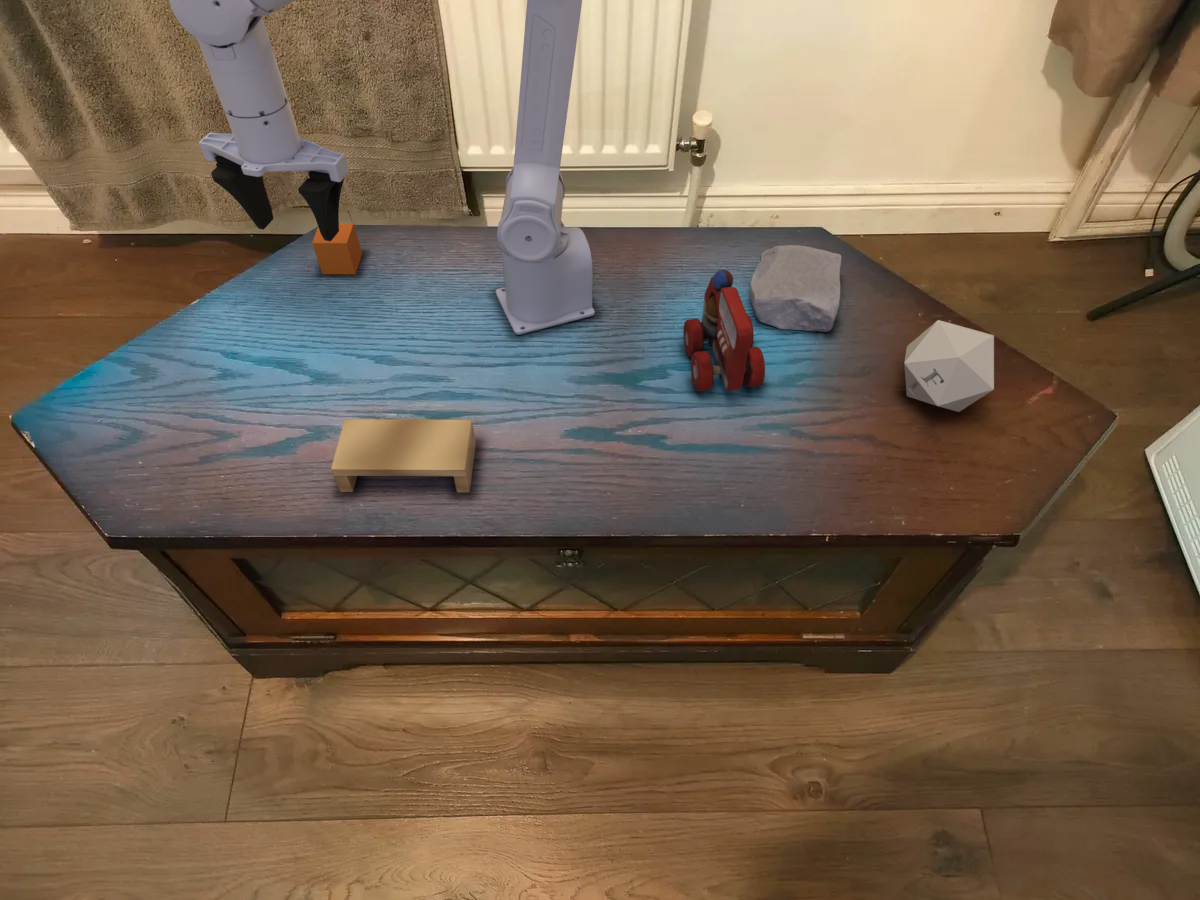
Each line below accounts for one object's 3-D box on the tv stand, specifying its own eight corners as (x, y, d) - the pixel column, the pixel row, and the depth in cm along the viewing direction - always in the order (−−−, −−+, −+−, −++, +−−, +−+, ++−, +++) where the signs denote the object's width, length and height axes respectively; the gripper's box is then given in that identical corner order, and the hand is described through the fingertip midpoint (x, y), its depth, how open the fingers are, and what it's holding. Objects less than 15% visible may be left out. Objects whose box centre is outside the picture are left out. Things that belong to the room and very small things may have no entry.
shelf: (476, 443, 76) (472, 419, 73) (469, 492, 72) (465, 469, 69) (353, 442, 76) (344, 418, 73) (340, 492, 72) (330, 469, 69)
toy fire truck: (738, 324, 87) (753, 246, 79) (765, 404, 79) (785, 328, 71) (677, 328, 87) (686, 250, 79) (698, 409, 79) (710, 333, 71)
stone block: (748, 336, 88) (839, 336, 86) (746, 302, 85) (841, 300, 82) (756, 275, 96) (840, 273, 93) (754, 242, 93) (842, 238, 90)
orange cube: (362, 254, 95) (353, 222, 91) (355, 274, 92) (346, 243, 89) (329, 253, 95) (319, 222, 91) (322, 274, 92) (311, 242, 89)
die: (878, 368, 84) (889, 349, 74) (951, 318, 83) (972, 293, 73) (927, 432, 82) (946, 421, 73) (1002, 382, 81) (1031, 365, 71)
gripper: (159, 113, 70) (215, 240, 80) (306, 135, 67) (344, 263, 78) (204, 77, 74) (252, 202, 84) (343, 97, 72) (374, 224, 82)
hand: (298, 229), depth 81 cm, fingers open, 7 cm apart
